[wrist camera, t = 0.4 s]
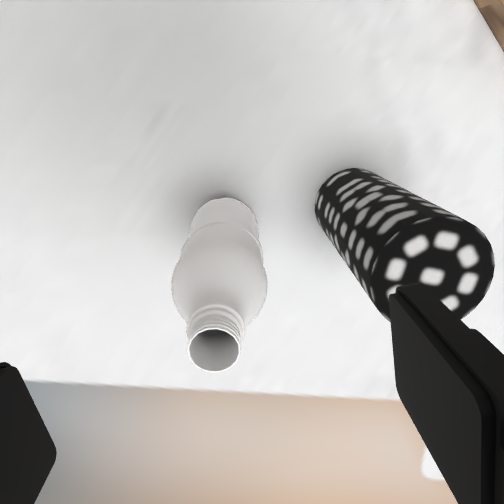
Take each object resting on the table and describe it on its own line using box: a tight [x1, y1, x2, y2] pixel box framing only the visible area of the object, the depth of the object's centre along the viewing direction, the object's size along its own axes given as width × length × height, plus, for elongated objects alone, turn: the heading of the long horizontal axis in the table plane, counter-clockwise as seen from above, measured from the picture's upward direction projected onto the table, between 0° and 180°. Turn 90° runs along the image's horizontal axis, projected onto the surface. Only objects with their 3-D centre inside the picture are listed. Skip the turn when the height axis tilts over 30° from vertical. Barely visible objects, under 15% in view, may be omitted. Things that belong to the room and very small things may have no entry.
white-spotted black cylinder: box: [315, 168, 495, 322], centre depth 36 cm, size 8×8×20 cm
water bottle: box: [171, 197, 267, 373], centre depth 34 cm, size 7×7×25 cm
